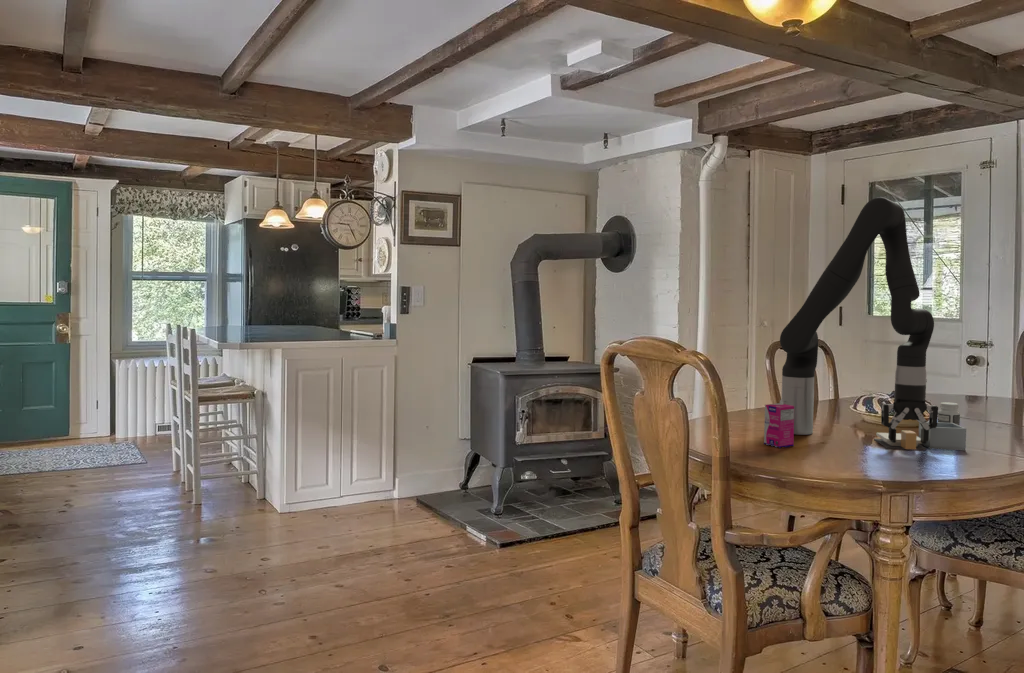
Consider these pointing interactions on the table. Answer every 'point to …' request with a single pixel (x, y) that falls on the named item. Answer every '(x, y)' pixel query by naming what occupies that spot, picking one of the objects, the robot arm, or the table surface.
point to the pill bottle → (949, 413)
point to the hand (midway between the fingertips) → (908, 442)
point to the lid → (902, 439)
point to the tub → (946, 437)
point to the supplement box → (779, 425)
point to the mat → (896, 446)
